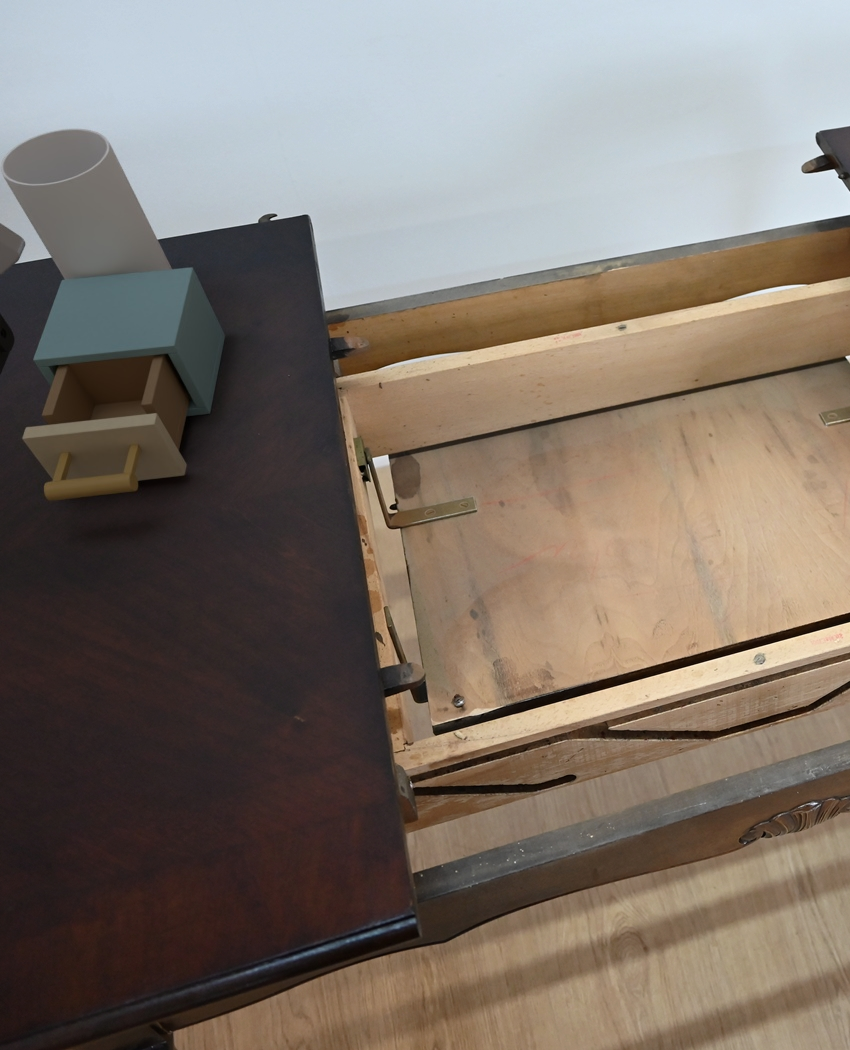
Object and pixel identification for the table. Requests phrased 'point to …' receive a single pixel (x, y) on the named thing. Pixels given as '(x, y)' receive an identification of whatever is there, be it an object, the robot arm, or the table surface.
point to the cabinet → (137, 327)
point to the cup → (82, 205)
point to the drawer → (111, 426)
